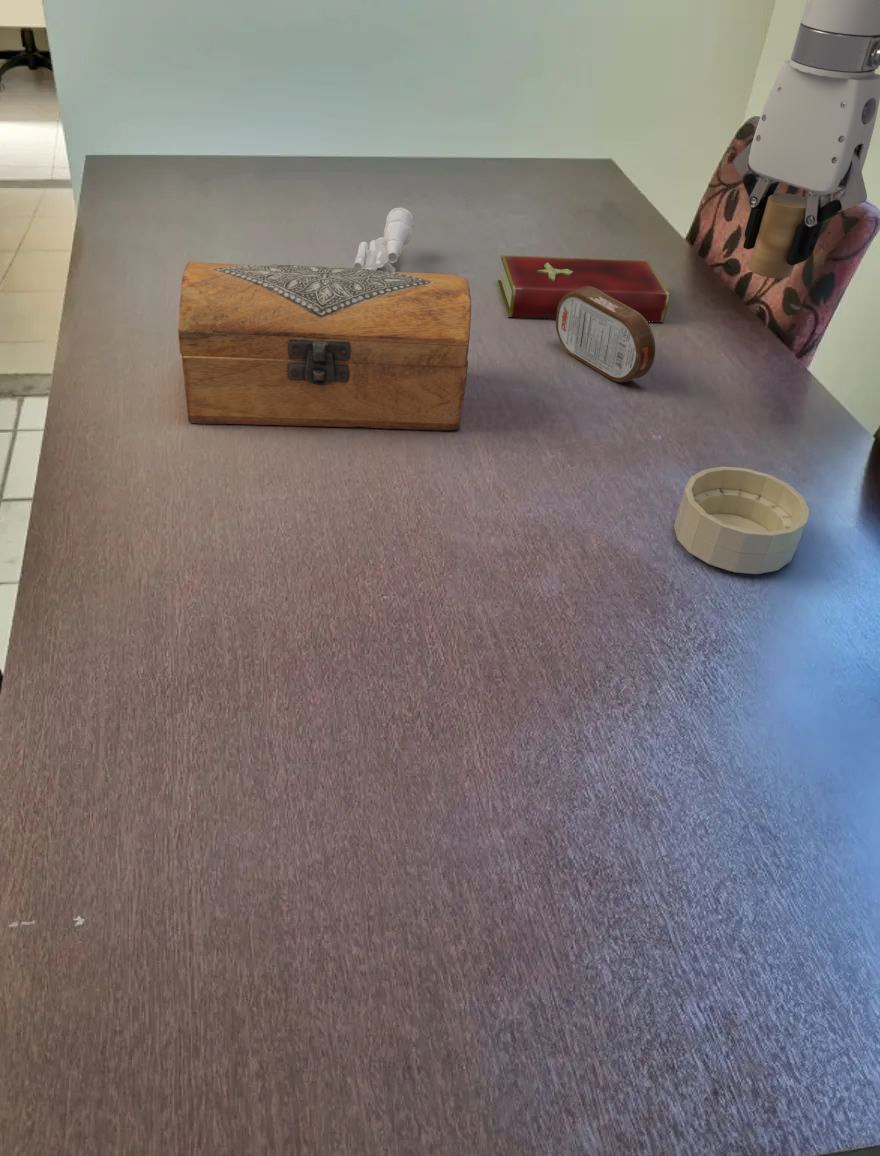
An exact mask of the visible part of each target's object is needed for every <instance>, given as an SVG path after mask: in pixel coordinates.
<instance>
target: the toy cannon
mask: <svg viewBox="0 0 880 1156" xmlns="http://www.w3.org/2000/svg"><path fill="white" fill-rule="evenodd" d="M414 226H415V219H414V216H413V214H412V213H411V212H410V211H409V210H408V209H407V208H404V207H395V208H393V209H391V210H390V211H389V212H388V214H387V216H386V218H385V225H384V228H383V236H379V237H377V238H376V239H373V240H371V241H369V244H368V243H367V242H366V241H360V242H359V243H358V250H357V254H356V257H355V258H354V263H353V265H352V268H357V269H370V270H378V269H382V268H383V267H385V269H386V270H387V271H388V272H396V270H397V269H396V268H395V267H394V265H392V264H393V263H396V262H397V261H398V260H399V257H400V256H401V255H402V254H403V252H404V247H405V246H406V245H408V243H410V241H411V239H412V235H413V229H414ZM365 257H366V261H365Z"/></svg>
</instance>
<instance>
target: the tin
mask: <svg viewBox="0 0 880 1156" xmlns="http://www.w3.org/2000/svg"><path fill="white" fill-rule="evenodd" d="M555 330H556V334H557V337H558V339H559V342H560V344H561V345H562V347H563V348H564V351H566V352H567V353H568V354H569V355H570V356H572V357H573V358H575V359H577V360H578V361H580V362H581V363H583V364H584V365H586V366H588V367H589V368H591V369H593V370H594V371H596V372H597V373H599V374H600V375H602V376H604V377H605V378H607V379H609V380H610V381H613V382H615V383H626V382H629V381H632V380H636V379H640V378H643V377H644V376H646V375H647V373H649V371H650V370H651V368H652V366H653V364H654V361H655V357H656V340H655V335H654V332H653V330H652V328H651V326H650V324H649V322H647V321H646V319H645V318H644V317H643V316H642V315H641V314H640V313H639V312H637V311H635V310H634V309H632V308H630V307H628V306H626V305H624V304H623V303H621V302H619V301H617V300H615V299H613V298H612V297H610V296H608V295H606V294H605V293H603V292H601V291H599V290H598V289H596V288H594V287H590V286H585V287H582V288H579V289H578V290H575V291H572V292H570V293H568V294H566V295H565V296H564V297H563V298H562V299H561V300H560V302H559V304H558V308H557V314H556V319H555Z"/></svg>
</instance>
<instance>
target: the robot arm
mask: <svg viewBox="0 0 880 1156" xmlns="http://www.w3.org/2000/svg"><path fill="white" fill-rule="evenodd" d="M794 41H795V42H794V46H793V50H792V52H791V55H790V59H786V60H784V62H782V65H781V67H780V69H779V71H778V72H777V75H776V77H775V79H774V81H773V84H772V85H771V88H770V91H769V92H768V95H767V98H766V101H765V103H764V106H763V109H762V111H761V114H760V117H759V120H758V123H757V126H756V129H755V132H754V136H753V140H752V141H751V142H749V144H748V145H746V147H745V148H743V150H742V151H741V152H739V154H738V155H737V156H736V157H735V158H734V159H733V162H732V165H733V168H734V169H735V170H736V172H737V174H738V175H739V177H740V178H741V179H742V184H743V186H744V188H745V191H746V193H747V196H748V199H747V203H748V206H749V207H750V208H751V209H750V212H749V215H748V219H747V223H746V226H745V229H744V242H743V246H742V248H743V249H745V250H748V251H749V250H753V249H754V246H755V242H756V239H757V235H758V232H759V229H760V225H761V222H762V218H763V215H764V211H765V208H766V204H767V201H768V197H769V196H770V195H772V194H777V193H778V191H779V188H780V186H781V185H782V184H784V185H788V186H791V187H794V188H797V189H801V190H803V191H807V194H806V198H807V203H806V212H805V219H804V222H803V223H801V224H799V225H798V226H797V228H796V231H795V234H794V238H793V241H792V244H791V247H790V250H789V254H788V257H787V260H786V262H787V264H789V265H792V266H793V265H794V266H795V265H798V264H800V263H803V262H806V261H808V259H809V258H810V257H811V256H812V255H813V253H814V251H815V248H816V245H817V242H818V239H819V236H820V232H821V230H822V227H823V224H824V223H826V222H827V221H829V220H830V219H832V218H834V217H835V216H836V215H838V214H840V213H841V212H843V211H846V210H848V209H851V208H853V207H856V206H858V205H861V204H863V203H865V202H866V201H867V200H868V194H867V193H868V192H867V189H866V184H865V181H864V175H863V169H864V166H865V163H866V159H867V156H868V152H869V149H870V144H871V141H872V137H873V134H874V129H875V125H876V121H877V117H878V111H879V105H880V74H879V73H876V70H877V69H879V67H880V0H806V2H805V6H804V9H803V13H802V16H801V19H800V24H799V27H798V31H797V35H796V39H795V40H794ZM838 188H840V189H845V193H844V194H843V195H842V196H841V197H838V198H835V199H834V193H835V192H836V191H837V189H838Z"/></svg>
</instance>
